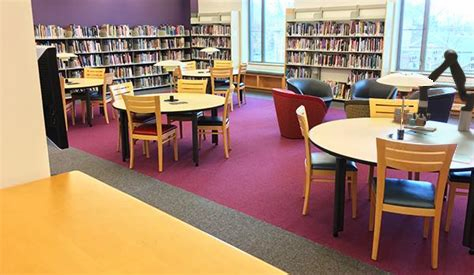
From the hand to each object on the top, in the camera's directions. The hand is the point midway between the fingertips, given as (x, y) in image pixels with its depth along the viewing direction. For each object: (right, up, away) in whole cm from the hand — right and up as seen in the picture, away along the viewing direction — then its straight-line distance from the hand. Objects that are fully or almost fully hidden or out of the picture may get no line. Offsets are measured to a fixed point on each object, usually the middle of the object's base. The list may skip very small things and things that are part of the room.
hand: (420, 124), depth 361 cm
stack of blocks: (-2, +3, +30) cm, 30 cm away
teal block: (0, -1, +13) cm, 13 cm away
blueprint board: (0, -3, +1) cm, 4 cm away
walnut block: (0, -1, 0) cm, 1 cm away
